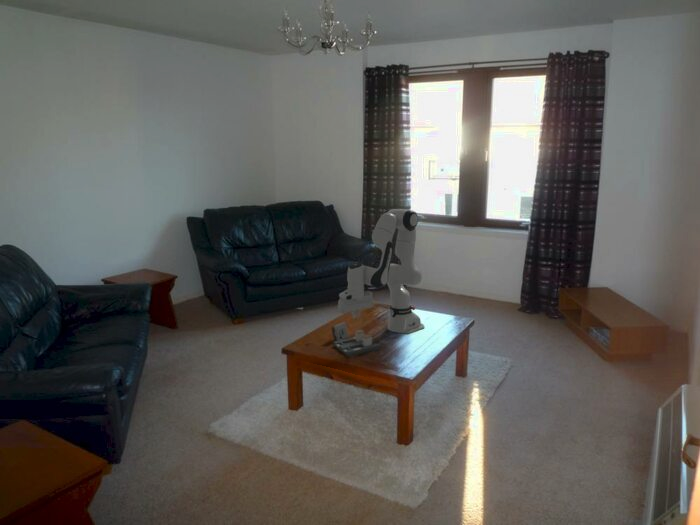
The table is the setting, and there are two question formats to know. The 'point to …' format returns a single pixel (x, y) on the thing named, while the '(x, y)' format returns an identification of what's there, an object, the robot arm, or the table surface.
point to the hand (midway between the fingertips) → (355, 317)
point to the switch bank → (355, 346)
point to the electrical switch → (340, 332)
